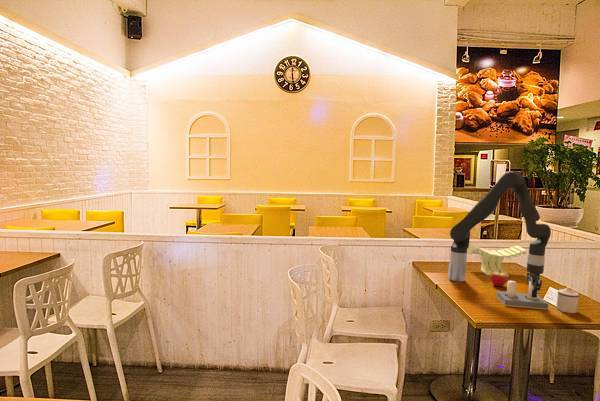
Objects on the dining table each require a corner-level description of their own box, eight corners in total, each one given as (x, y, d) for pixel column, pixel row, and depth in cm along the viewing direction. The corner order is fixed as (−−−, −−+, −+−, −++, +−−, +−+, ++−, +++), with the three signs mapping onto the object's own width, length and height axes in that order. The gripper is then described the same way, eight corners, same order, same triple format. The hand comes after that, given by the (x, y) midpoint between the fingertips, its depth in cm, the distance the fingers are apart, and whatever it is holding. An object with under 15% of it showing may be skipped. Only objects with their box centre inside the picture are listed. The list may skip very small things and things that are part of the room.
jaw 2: (528, 302, 211) (530, 282, 210) (525, 299, 216) (527, 280, 215) (538, 302, 211) (540, 283, 209) (535, 299, 215) (536, 281, 214)
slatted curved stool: (512, 270, 277) (515, 244, 275) (523, 277, 261) (526, 249, 259) (466, 267, 280) (468, 241, 278) (474, 274, 264) (476, 247, 262)
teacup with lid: (581, 314, 201) (584, 290, 200) (562, 313, 201) (564, 289, 200) (567, 305, 213) (569, 283, 212) (548, 304, 213) (551, 282, 212)
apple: (508, 286, 242) (509, 269, 241) (503, 289, 236) (504, 271, 235) (493, 282, 248) (494, 266, 247) (488, 285, 242) (489, 268, 241)
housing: (504, 305, 209) (505, 299, 208) (496, 296, 223) (496, 291, 222) (547, 309, 206) (548, 303, 205) (536, 300, 219) (537, 294, 219)
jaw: (508, 301, 213) (509, 282, 212) (504, 299, 217) (505, 280, 217) (517, 302, 213) (518, 283, 212) (513, 299, 217) (514, 280, 216)
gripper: (522, 259, 219) (519, 290, 220) (533, 266, 205) (529, 299, 206) (538, 260, 217) (534, 292, 219) (549, 267, 203) (546, 301, 205)
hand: (532, 295), depth 213 cm, fingers closed on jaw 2, 4 cm apart
